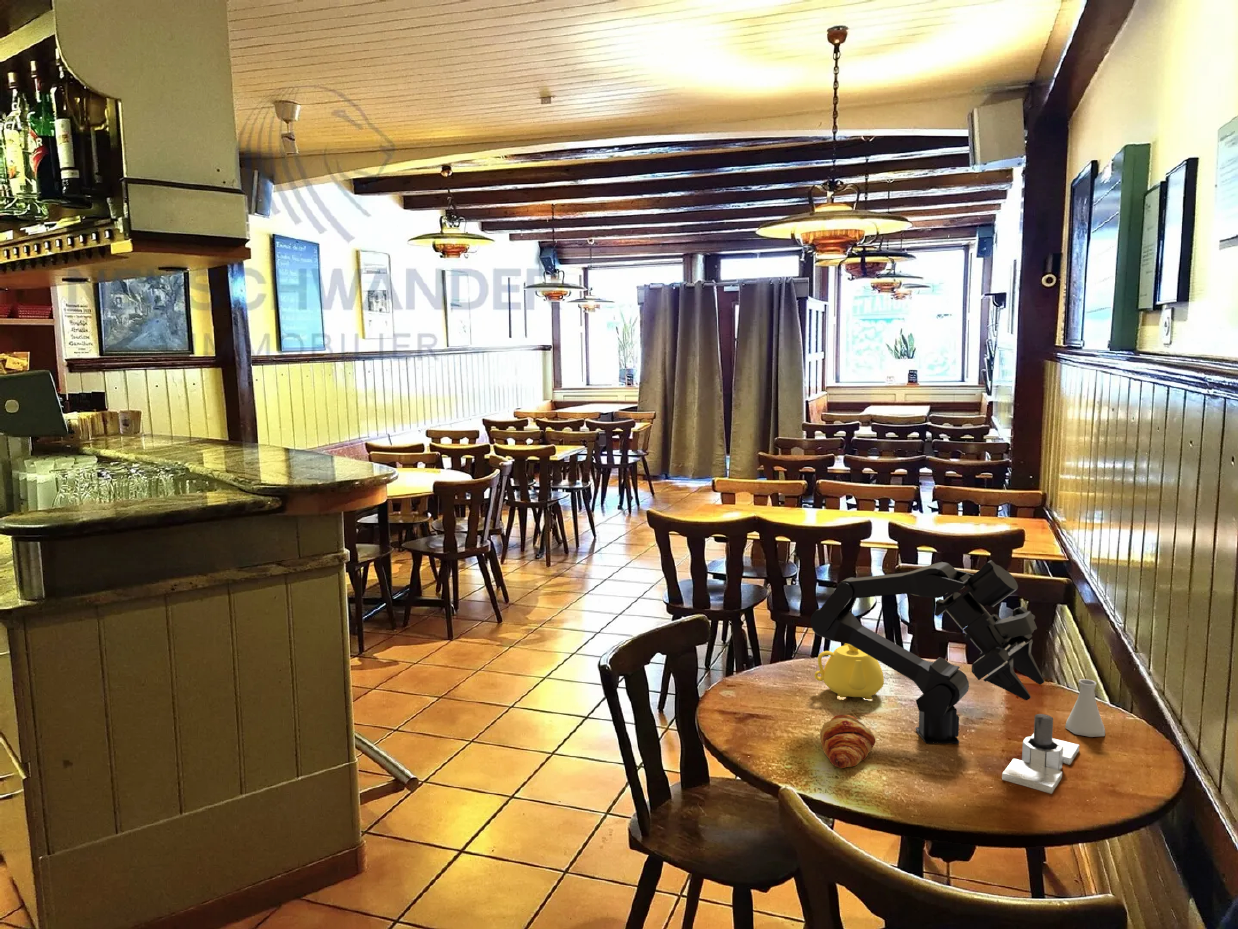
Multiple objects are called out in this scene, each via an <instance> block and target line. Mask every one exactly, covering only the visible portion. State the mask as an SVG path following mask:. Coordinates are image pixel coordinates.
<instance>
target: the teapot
mask: <svg viewBox="0 0 1238 929" xmlns="http://www.w3.org/2000/svg"><path fill="white" fill-rule="evenodd" d="M824 656H829V658H828V659H827V661H826V663H825V664H824V667H823V662H822V661H823V660H822V659H823V657H824ZM817 664H818V665H817V666H818V668H819V670H816V671H815V672H814V679H815V680H816V681H819V682H823V683H824V685H826V686H827V688H828V689H829V690H830V691H831V692H833V693H834V694H837V695H838V696H840V697H847V698H848V697H852V698H862V697H863V698H865V699H872V698H873V697H872V696H873V695H875V694H877V693H878V692H879V691H880V690H881V689H882V688H883V687H884V684H885V678H884V671H883V670H882V667H881V665H880V661H878V660H876V659H874V658H873V657H871V656H869V655H867V654H866V653H864V652H862V651H861V650H859V649H857V648H855V647H854V646H852V645H850V644H847V643H843V645H841V646H838V647H836V649H835V650H834V651H833V652H832V651H831V650H824V651H822V652H820V653H819V654H818V656H817ZM818 675H820V676H818Z"/></svg>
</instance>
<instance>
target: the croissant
mask: <svg viewBox="0 0 1238 929" xmlns="http://www.w3.org/2000/svg"><path fill="white" fill-rule="evenodd" d="M875 737H876V736H875V735H874V734H873V732H872V731H871V730H870V728H868V727H866V725H865V724H864V723H862V722H861V721H859V719H858V718H857V717H854V716H852V715H851V714H850V715H849V714H837V715H834V716H833V717H832V718H831V719H830V720H829V721H826V722H824V723H823V725H822V726H821V729H820V732H819V738H820V744H821V748H822V751H823V752H824V754H825V756H826V757H827V758H828V760H829V762H830V763H831V764H832V765H833V766H834V767H836V768H839V769H844V768H852V767H855V766H857V765H859V763H860V762H861V761H864V760H865V759H866V758H867V756H868V754H869V753H870V752H871V751H872V750H873V748H874V746H875V744H876V738H875Z"/></svg>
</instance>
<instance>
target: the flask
mask: <svg viewBox="0 0 1238 929" xmlns="http://www.w3.org/2000/svg"><path fill="white" fill-rule="evenodd" d="M1078 686H1079V693H1078V697H1077V699H1076V701H1075V703H1074V706H1073V707H1072V709H1071V712H1070V714H1069V715H1068V718H1067V719H1066V722H1065V726H1064V727H1065V729H1066V730H1068V731H1070V732H1071V733H1072V734H1074V735H1079V736H1083V737H1084V736H1085V737H1089V738H1093V737H1105V736H1106V729H1105V725H1104V722H1103V720H1102V717H1101V714H1100V711H1099V708H1098V704H1097V701H1096V695H1095V688H1097V681H1094V680H1092V679H1087V678H1082V679H1081V678H1079V679H1078Z"/></svg>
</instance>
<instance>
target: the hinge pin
mask: <svg viewBox="0 0 1238 929" xmlns="http://www.w3.org/2000/svg"><path fill="white" fill-rule="evenodd" d="M1033 720H1034V721H1033V722H1034V724H1033V733H1034V740H1033V747H1036V748H1040V749H1044V750H1051V749H1052V738H1053V731H1054V730H1053V729H1054V726H1053V725H1054V718H1053V717H1052V716H1051V715H1049V714H1043V713H1037V714H1035V715H1034V719H1033Z"/></svg>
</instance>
